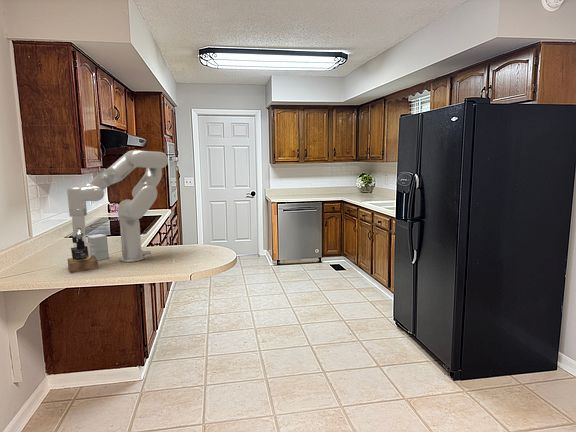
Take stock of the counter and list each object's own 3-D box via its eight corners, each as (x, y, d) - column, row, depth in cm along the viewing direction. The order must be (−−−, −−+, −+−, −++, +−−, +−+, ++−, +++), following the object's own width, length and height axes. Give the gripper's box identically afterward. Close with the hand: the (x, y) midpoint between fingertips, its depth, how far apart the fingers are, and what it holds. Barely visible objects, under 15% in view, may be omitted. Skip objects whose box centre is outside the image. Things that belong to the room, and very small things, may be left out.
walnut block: (95, 264, 205) (94, 255, 204) (98, 270, 195) (97, 260, 194) (68, 268, 199) (67, 258, 198) (70, 274, 189) (69, 263, 188)
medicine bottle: (72, 261, 192) (69, 237, 190) (75, 258, 199) (72, 234, 197) (89, 259, 194) (85, 235, 192) (91, 256, 201) (88, 232, 199)
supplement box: (102, 256, 220) (100, 233, 218) (109, 258, 216) (107, 235, 214) (88, 259, 215) (86, 235, 213) (95, 261, 210) (93, 237, 208)
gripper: (70, 211, 199) (73, 245, 202) (68, 215, 184) (71, 252, 186) (87, 210, 202) (90, 243, 205) (86, 214, 187) (89, 250, 189)
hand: (81, 247), depth 196 cm, fingers open, 9 cm apart
